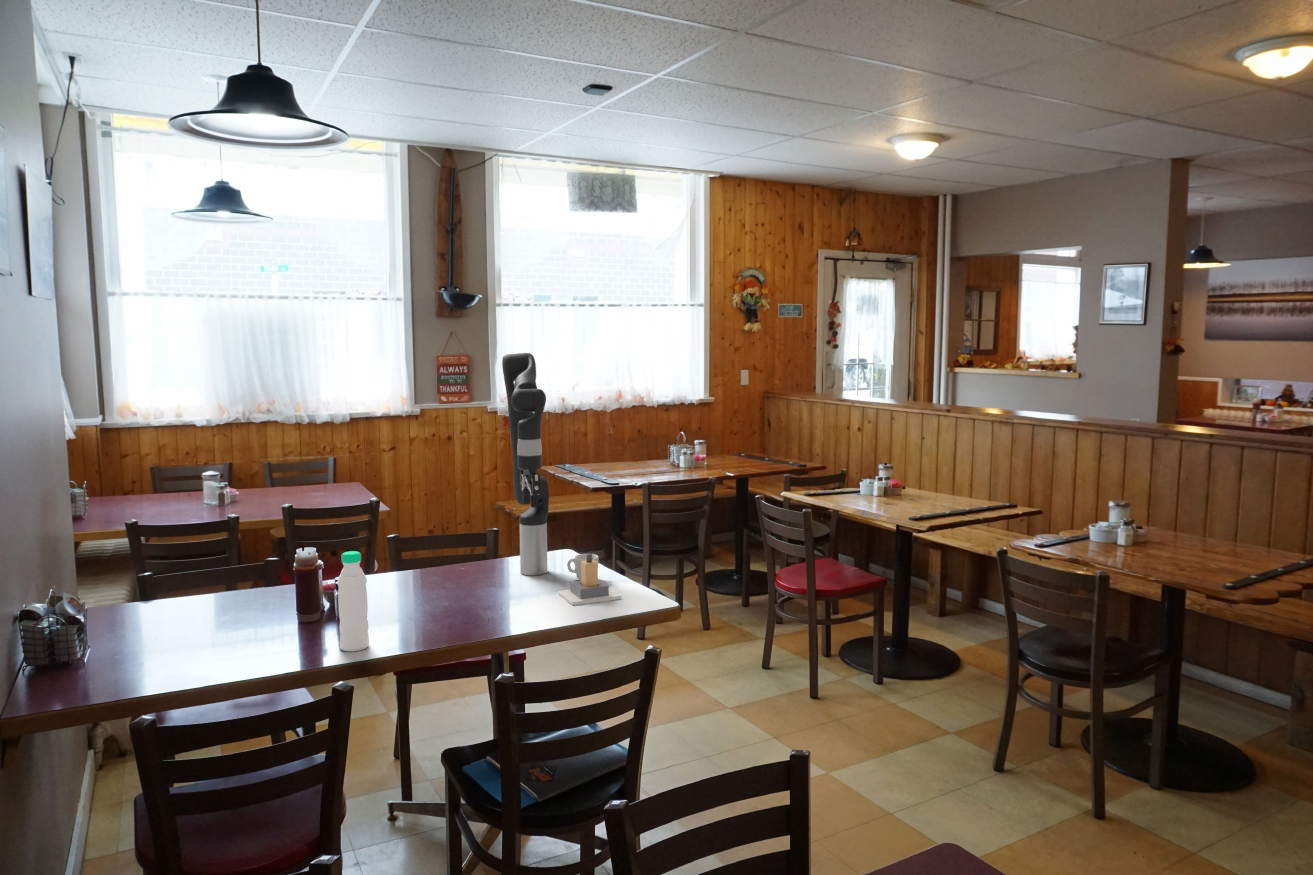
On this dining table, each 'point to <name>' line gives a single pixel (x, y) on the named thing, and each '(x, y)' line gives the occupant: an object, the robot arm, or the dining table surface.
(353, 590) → the water bottle
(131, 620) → the dining table surface
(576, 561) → the cup
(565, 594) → the socket
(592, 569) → the light wood tall block
